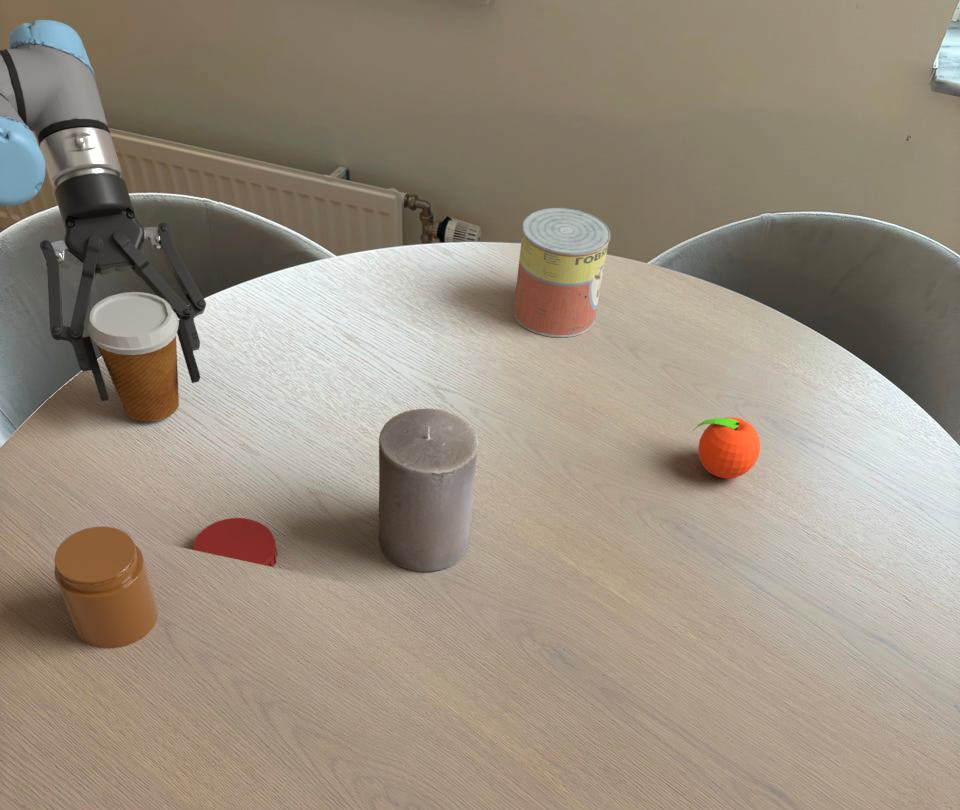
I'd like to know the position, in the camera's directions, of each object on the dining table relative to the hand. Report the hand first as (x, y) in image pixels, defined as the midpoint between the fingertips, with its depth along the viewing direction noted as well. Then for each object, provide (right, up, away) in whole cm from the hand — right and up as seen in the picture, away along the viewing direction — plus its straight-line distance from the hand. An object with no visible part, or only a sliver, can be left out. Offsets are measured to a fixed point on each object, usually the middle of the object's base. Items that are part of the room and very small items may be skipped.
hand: (151, 389), depth 110 cm
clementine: (+65, -8, +6) cm, 65 cm away
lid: (+12, -19, -10) cm, 24 cm away
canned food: (+47, +16, +24) cm, 55 cm away
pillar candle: (+31, -18, -5) cm, 36 cm away
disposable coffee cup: (-2, -1, +5) cm, 6 cm away
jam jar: (+2, -27, -15) cm, 31 cm away
